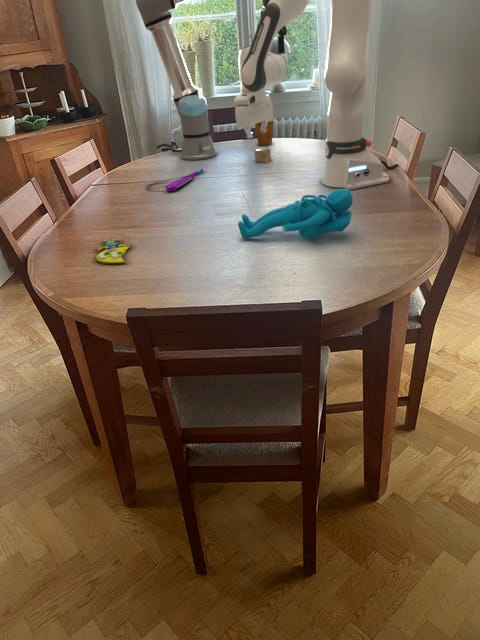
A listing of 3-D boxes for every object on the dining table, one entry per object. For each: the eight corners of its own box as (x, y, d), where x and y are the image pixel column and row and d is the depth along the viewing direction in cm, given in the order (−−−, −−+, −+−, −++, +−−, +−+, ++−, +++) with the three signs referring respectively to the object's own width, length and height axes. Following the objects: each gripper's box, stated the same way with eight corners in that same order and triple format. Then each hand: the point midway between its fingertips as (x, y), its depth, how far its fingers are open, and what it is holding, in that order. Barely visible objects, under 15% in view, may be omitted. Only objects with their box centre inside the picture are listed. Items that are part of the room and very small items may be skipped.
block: (260, 159, 197) (260, 147, 195) (270, 160, 195) (270, 148, 193) (255, 161, 195) (254, 150, 192) (265, 162, 192) (264, 151, 190)
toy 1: (135, 237, 135) (125, 260, 122) (135, 240, 135) (125, 263, 123) (99, 239, 135) (85, 263, 122) (100, 242, 135) (86, 266, 123)
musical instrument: (142, 197, 170) (197, 185, 167) (141, 191, 169) (195, 179, 166) (155, 181, 191) (204, 170, 188) (154, 176, 190) (202, 165, 187)
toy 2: (244, 202, 136) (351, 176, 125) (255, 236, 141) (358, 213, 131) (231, 226, 122) (349, 198, 112) (243, 263, 127) (358, 239, 117)
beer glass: (276, 145, 214) (274, 116, 208) (254, 146, 215) (253, 118, 208) (274, 140, 222) (273, 112, 216) (254, 141, 223) (252, 114, 216)
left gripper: (278, -5, 204) (280, 51, 216) (246, -3, 188) (250, 58, 199) (294, -7, 201) (295, 51, 212) (263, -5, 184) (265, 58, 195)
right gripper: (261, 90, 184) (264, 128, 191) (230, 100, 170) (234, 141, 178) (275, 90, 181) (277, 129, 188) (245, 100, 167) (249, 141, 174)
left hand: (273, 55), depth 206 cm, fingers open, 13 cm apart
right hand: (256, 135), depth 183 cm, fingers open, 8 cm apart
